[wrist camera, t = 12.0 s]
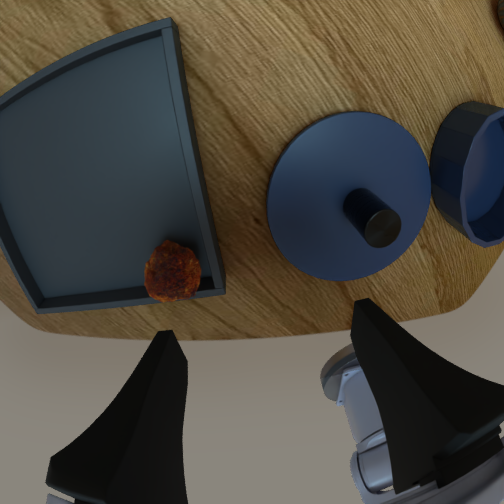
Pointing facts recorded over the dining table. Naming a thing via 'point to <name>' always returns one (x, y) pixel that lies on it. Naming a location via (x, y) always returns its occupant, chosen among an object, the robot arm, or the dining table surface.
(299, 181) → the tin lid
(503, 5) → the vase
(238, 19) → the dining table surface
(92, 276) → the tray
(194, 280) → the meatball
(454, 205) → the tin
